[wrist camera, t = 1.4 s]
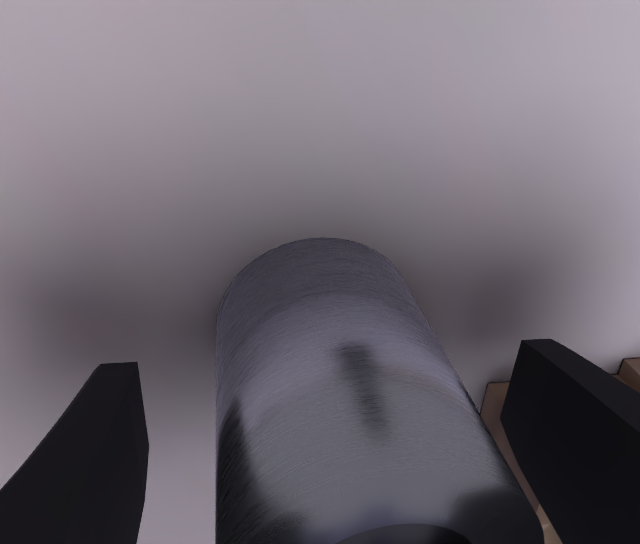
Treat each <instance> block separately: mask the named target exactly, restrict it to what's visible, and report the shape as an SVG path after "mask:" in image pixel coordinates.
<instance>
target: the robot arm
mask: <svg viewBox="0 0 640 544" xmlns="http://www.w3.org/2000/svg"><path fill="white" fill-rule="evenodd" d="M500 421H501V424H502V426H503V429H504V431H505V434H506V437H507V439H508V442H509V444H510V447H511V449H512V451H513V454H514V456H515V458H516V461H517V463H518V465H519V467H520V469H521V471H522V473H523V475H524V477H525V478H526V480H527V482H528V484H529V485H530V487H531V489H532V491H533V493H534V494H535V496H536V498H537V500H538V502H539V503H540V505H541V507H542V509H543V510H544V512H545V514H546V515H547V517H548V519H549V521H550V522H551V524H552V526H553V528H554V529H555V531H556V533H557V535H558V536H559V538H560V540H561V542H562V543H563V544H640V393H639V392H637V391H636V390H634V389H632V388H631V387H629V386H628V385H626V384H625V383H623V382H621V381H620V380H618V379H617V378H615V377H614V376H612V375H610V374H609V373H607V372H606V371H604V370H602V369H601V368H599V367H598V366H596V365H595V364H593V363H591V362H590V361H588V360H587V359H585V358H583V357H582V356H580V355H578V354H577V353H575V352H574V351H572V350H570V349H568V348H567V347H565V346H563V345H562V344H560V343H558V342H556V341H554V340H552V339H535V340H522V341H521V344H520V348H519V351H518V355H517V358H516V362H515V365H514V369H513V373H512V376H511V380H510V383H509V387H508V390H507V394H506V397H505V401H504V404H503V408H502V411H501V415H500ZM148 454H149V442H148V435H147V428H146V420H145V413H144V406H143V399H142V392H141V385H140V377H139V370H138V363H137V362H125V363H107V364H100V365H99V366H98V367H97V368H96V369H95V370H94V371H93V373H92V374H91V376H90V377H89V379H88V380H87V381H86V383H85V384H84V386H83V387H82V388H81V390H80V391H79V393H78V394H77V395H76V397H75V398H74V400H73V401H72V402H71V404H70V405H69V406H68V408H67V409H66V410H65V412H64V413H63V414H62V416H61V417H60V418H59V420H58V421H57V422H56V424H55V425H54V426H53V427H52V429H51V430H50V431H49V432H48V434H47V435H46V436H45V437H44V439H43V440H42V441H41V442H40V444H39V445H38V446H37V447H36V449H35V450H34V451H33V452H32V454H31V455H30V456H29V457H28V459H27V460H26V461H25V462H24V463H23V465H22V466H21V467H20V468H19V469H18V470H17V472H16V473H15V474H14V475H13V476H12V477H11V478H10V479H9V481H8V482H7V483H6V484H5V485H4V486H3V487H2V489H1V490H0V544H136V543H137V538H138V533H139V528H140V522H141V517H142V512H143V507H144V501H145V491H146V479H147V467H148Z"/></svg>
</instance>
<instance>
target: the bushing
mask: <svg viewBox="0 0 640 544" xmlns="http://www.w3.org/2000/svg"><path fill="white" fill-rule="evenodd" d="M215 544H545V541H544V532H543V528H542V526H541V523H540V520H539V518H538V516H537V514H536V512H535V511H534V509H533V507H532V505H531V504H530V502H529V500H528V498H527V496H526V495H525V493H524V491H523V489H522V488H521V486H520V484H519V482H518V481H517V479H516V477H515V475H514V473H513V472H512V470H511V468H510V466H509V465H508V463H507V461H506V459H505V458H504V456H503V454H502V452H501V451H500V449H499V447H498V445H497V443H496V442H495V440H494V438H493V436H492V435H491V433H490V431H489V429H488V428H487V426H486V424H485V422H484V420H483V419H482V417H481V415H480V413H479V412H478V410H477V408H476V406H475V405H474V403H473V401H472V399H471V398H470V396H469V394H468V392H467V390H466V389H465V387H464V385H463V383H462V382H461V380H460V378H459V376H458V375H457V373H456V371H455V369H454V367H453V366H452V364H451V362H450V360H449V359H448V357H447V355H446V353H445V352H444V350H443V348H442V346H441V345H440V343H439V341H438V339H437V337H436V336H435V334H434V332H433V330H432V329H431V327H430V325H429V323H428V322H427V320H426V318H425V316H424V314H423V313H422V311H421V309H420V307H419V306H418V304H417V302H416V300H415V299H414V297H413V295H412V293H411V292H410V290H409V288H408V286H407V284H406V283H405V281H404V279H403V278H402V276H401V274H400V273H399V271H398V270H397V269H396V268H395V267H394V265H393V264H392V263H391V262H390V261H388V260H387V259H386V258H385V257H384V256H383V255H381V254H379V253H378V252H376V251H375V250H373V249H371V248H369V247H366V246H364V245H362V244H359V243H356V242H352V241H349V240H343V239H337V238H312V239H304V240H299V241H294V242H291V243H288V244H285V245H282V246H279V247H277V248H275V249H273V250H271V251H268V252H267V253H265V254H263V255H262V256H260V257H258V258H257V259H255V260H254V261H253V262H252V263H250V264H249V265H248V266H247V267H245V268H244V269H243V270H242V271H241V272H240V273H239V274H238V276H237V277H236V278H235V279H234V280H233V282H232V283H231V285H230V286H229V287H228V289H227V291H226V293H225V295H224V297H223V299H222V301H221V304H220V307H219V310H218V315H217V320H216V526H215Z"/></svg>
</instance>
